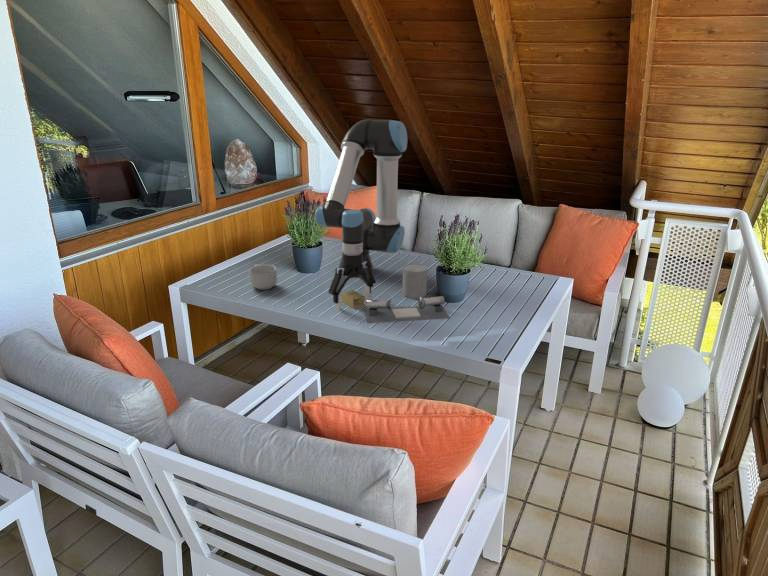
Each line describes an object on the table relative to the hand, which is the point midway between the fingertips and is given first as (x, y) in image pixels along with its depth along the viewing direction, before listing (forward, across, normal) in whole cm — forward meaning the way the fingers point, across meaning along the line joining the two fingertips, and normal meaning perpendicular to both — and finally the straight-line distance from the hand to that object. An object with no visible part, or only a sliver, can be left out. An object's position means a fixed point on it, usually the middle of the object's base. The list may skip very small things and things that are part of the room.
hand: (352, 306), depth 218 cm
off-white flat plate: (-1, +10, -19) cm, 22 cm away
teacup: (0, -16, +40) cm, 43 cm away
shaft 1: (-1, +2, -13) cm, 13 cm away
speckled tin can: (0, +25, -7) cm, 26 cm away
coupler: (0, 0, 0) cm, 0 cm away
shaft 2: (-1, +19, -23) cm, 30 cm away
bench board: (0, +10, -19) cm, 22 cm away
